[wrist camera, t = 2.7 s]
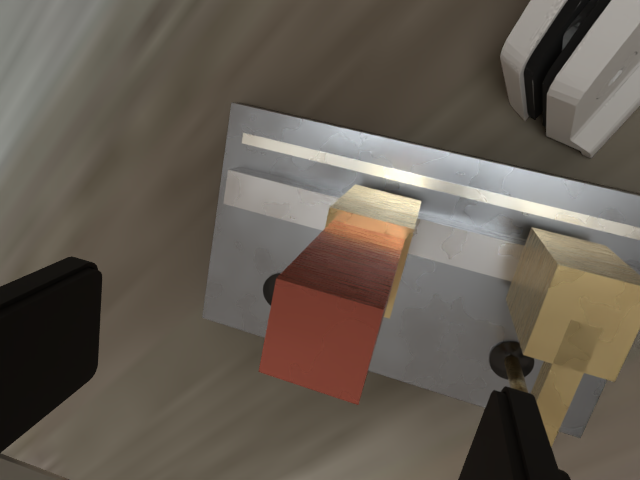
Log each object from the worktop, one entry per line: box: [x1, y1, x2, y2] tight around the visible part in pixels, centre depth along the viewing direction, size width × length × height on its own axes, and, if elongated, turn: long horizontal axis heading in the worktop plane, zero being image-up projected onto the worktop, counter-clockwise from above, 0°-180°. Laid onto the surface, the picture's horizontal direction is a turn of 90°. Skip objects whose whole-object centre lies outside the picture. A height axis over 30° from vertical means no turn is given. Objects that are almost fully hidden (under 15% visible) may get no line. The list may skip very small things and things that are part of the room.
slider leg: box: [259, 184, 421, 405], centre depth 20 cm, size 8×4×14 cm, turn 169°
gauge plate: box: [202, 103, 640, 447], centre depth 24 cm, size 14×24×9 cm, turn 78°
